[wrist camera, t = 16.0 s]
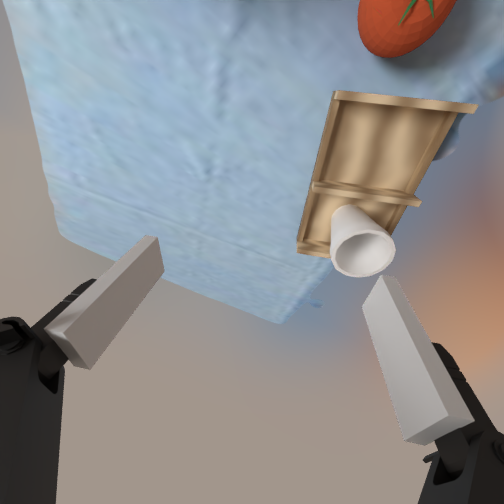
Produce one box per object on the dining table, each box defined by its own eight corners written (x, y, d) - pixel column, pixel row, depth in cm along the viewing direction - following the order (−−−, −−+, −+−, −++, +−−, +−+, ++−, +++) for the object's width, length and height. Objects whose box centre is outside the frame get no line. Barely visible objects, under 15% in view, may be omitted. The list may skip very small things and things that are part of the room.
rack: (296, 238, 51) (296, 252, 46) (333, 91, 35) (339, 90, 30) (375, 250, 50) (383, 267, 45) (452, 103, 33) (478, 104, 28)
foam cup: (314, 221, 47) (319, 257, 36) (347, 187, 42) (365, 218, 31) (346, 245, 49) (360, 285, 38) (382, 215, 44) (409, 252, 33)
